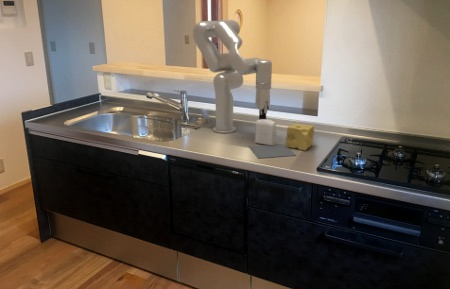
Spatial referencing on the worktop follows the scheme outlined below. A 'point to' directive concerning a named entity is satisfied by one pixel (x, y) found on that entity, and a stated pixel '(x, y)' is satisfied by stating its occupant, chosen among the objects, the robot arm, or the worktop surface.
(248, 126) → the worktop surface
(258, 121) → the photo printer
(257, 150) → the mat
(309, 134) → the cheese
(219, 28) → the robot arm
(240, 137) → the worktop surface
